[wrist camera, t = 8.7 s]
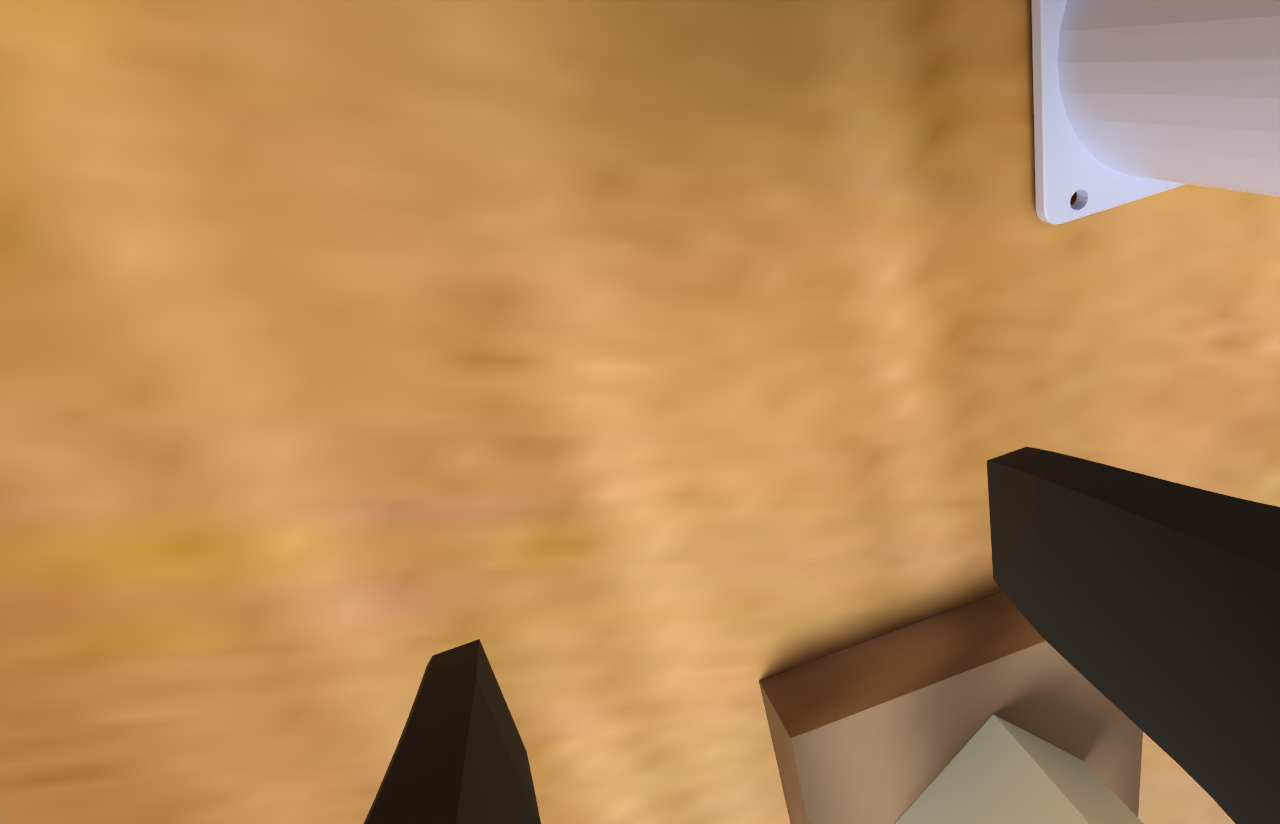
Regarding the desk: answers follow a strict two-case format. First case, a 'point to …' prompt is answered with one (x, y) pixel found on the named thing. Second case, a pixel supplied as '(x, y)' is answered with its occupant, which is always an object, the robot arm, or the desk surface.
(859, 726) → the walnut box
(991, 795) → the white block
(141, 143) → the desk surface
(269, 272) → the desk surface
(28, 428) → the desk surface
